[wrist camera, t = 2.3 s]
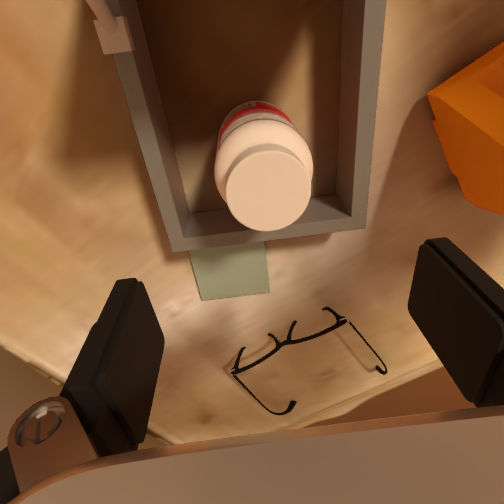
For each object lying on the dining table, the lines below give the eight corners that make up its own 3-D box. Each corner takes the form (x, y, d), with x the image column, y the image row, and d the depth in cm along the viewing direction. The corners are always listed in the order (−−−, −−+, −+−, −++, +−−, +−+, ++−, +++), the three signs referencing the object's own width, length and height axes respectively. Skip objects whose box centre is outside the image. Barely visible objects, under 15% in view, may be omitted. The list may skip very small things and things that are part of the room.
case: (90, -85, 19) (-244, -370, 6) (367, -127, 19) (710, -538, 5) (178, 226, 31) (136, 372, 17) (348, 204, 30) (440, 336, 17)
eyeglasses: (340, 292, 37) (351, 317, 34) (388, 362, 45) (401, 389, 41) (224, 349, 41) (223, 377, 38) (285, 404, 49) (289, 431, 46)
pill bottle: (275, 185, 29) (295, 255, 20) (208, 162, 27) (197, 225, 18) (306, 116, 26) (346, 160, 17) (233, 85, 24) (233, 115, 15)
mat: (186, 241, 32) (186, 243, 31) (263, 231, 31) (263, 233, 31) (202, 298, 36) (202, 300, 35) (269, 289, 36) (270, 292, 35)
